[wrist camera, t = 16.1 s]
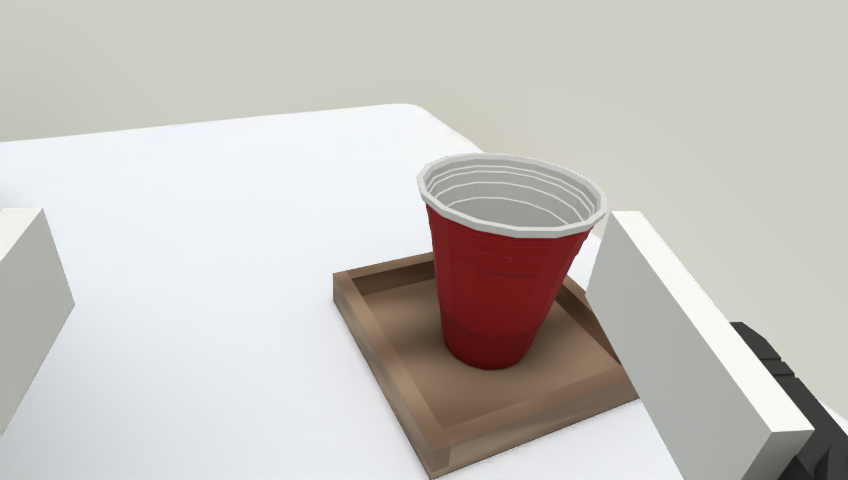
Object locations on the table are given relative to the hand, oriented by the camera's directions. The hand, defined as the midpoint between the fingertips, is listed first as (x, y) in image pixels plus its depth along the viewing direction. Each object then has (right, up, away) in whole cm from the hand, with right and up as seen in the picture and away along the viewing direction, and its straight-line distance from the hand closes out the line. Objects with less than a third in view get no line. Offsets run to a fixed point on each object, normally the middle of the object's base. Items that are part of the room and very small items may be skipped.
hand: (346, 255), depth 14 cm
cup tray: (+6, -7, +26) cm, 27 cm away
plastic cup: (+6, -6, +25) cm, 27 cm away
